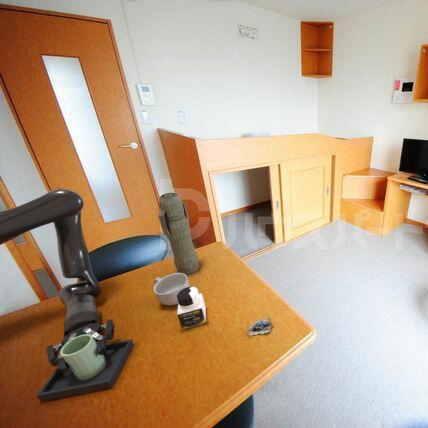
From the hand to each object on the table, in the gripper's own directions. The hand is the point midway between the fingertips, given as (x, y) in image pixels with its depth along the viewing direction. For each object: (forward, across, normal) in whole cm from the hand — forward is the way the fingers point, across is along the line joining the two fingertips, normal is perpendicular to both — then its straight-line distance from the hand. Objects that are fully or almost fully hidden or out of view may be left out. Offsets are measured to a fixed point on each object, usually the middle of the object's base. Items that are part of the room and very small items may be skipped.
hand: (83, 361), depth 61 cm
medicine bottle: (-2, +26, +7) cm, 27 cm away
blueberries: (+17, +41, +7) cm, 45 cm away
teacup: (-18, +24, +7) cm, 30 cm away
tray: (-2, 0, +7) cm, 7 cm away
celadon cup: (-2, 0, +6) cm, 6 cm away
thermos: (-32, +33, +7) cm, 46 cm away
